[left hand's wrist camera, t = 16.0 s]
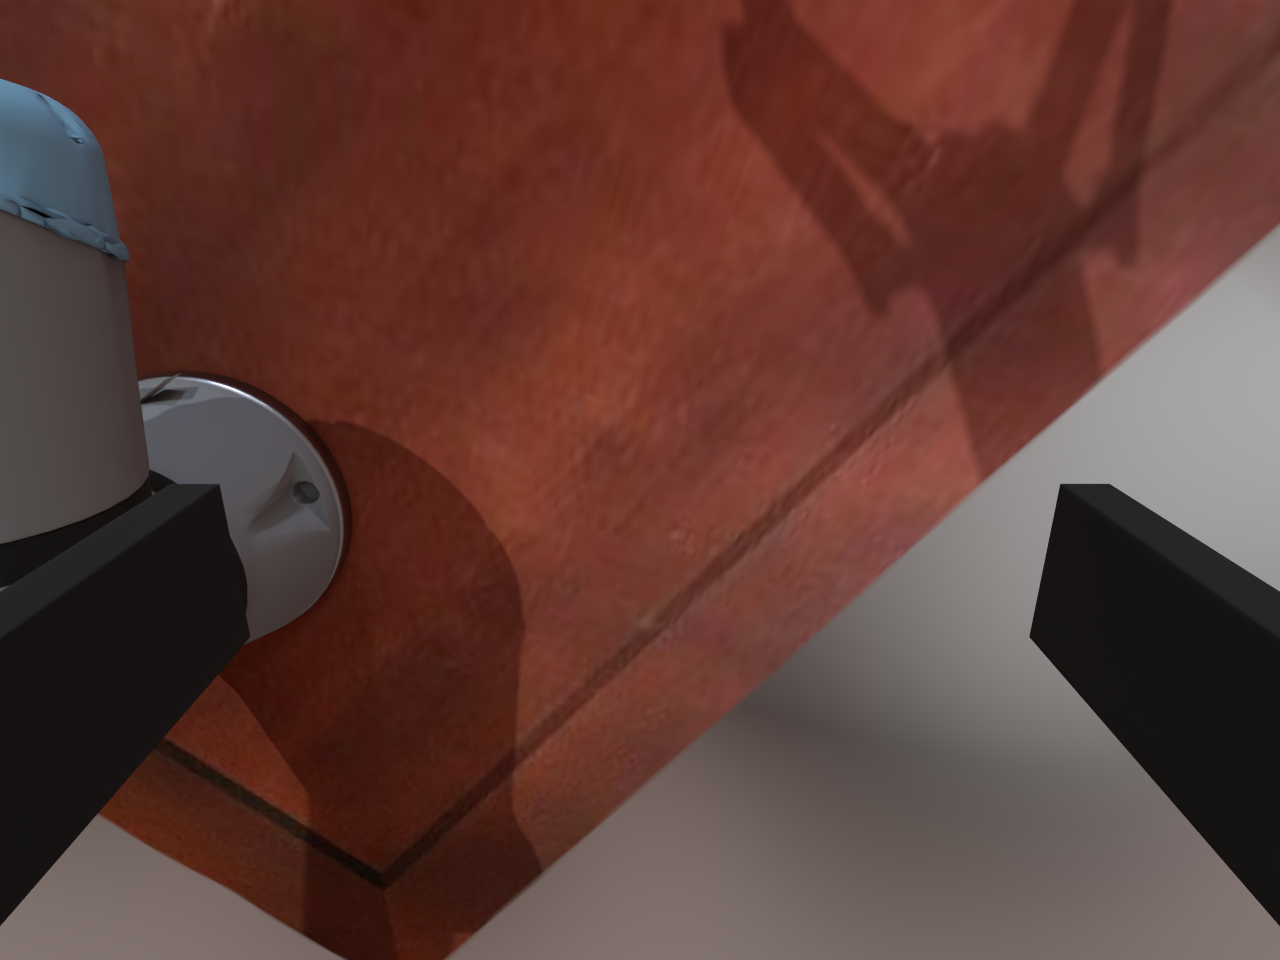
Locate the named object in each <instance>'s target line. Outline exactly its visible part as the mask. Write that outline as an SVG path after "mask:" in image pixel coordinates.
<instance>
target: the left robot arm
mask: <svg viewBox="0 0 1280 960" xmlns="http://www.w3.org/2000/svg"><path fill="white" fill-rule="evenodd" d="M128 261H129V252H128V249H127V247H126V246H125V245H124V244H123V243H122V242H121V241H120V236H119V231H118V226H117V222H116V217H115V212H114V207H113V203H112V197H111V191H110V186H109V180H108V174H107V169H106V163H105V159H104V156H103V152H102V150H101V148H100V145H99V143H98V141H97V140H96V138H95V137H94V135H93V133H92V132H91V131H90V129H89V128H88V127H87V126H86V125H85V124H84V122H83V121H82V120H81V119H80V118H79V117H78V116H76V115H75V114H74V113H73V112H72V111H71V110H69V109H68V108H66V107H65V106H63V105H62V104H60V103H59V102H57V101H55V100H53V99H52V98H50V97H48V96H46V95H44V94H41V93H39V92H37V91H34V90H31V89H29V88H26V87H24V86H21V85H18V84H15V83H11V82H8V81H5V80H2V79H0V926H1V924H2V923H3V922H4V921H5V920H6V919H7V918H8V916H9V915H10V914H11V913H12V912H13V911H14V910H15V908H16V907H17V906H18V905H19V904H20V903H21V901H22V900H23V899H24V898H25V897H26V896H27V895H28V893H29V892H30V891H31V890H32V889H33V888H34V886H35V885H36V884H37V883H38V882H39V881H40V879H41V878H42V877H43V876H44V875H45V874H46V873H47V871H48V870H49V869H50V868H51V867H52V866H53V864H54V863H55V862H56V861H57V860H58V859H59V858H60V856H61V855H62V854H63V853H64V852H65V851H66V849H67V848H68V847H69V846H70V845H71V844H72V843H73V841H74V840H75V839H76V838H77V837H78V836H79V834H80V833H81V832H82V831H83V830H84V829H85V827H86V826H87V825H88V824H89V823H90V822H91V821H92V819H93V818H94V817H95V816H96V815H97V814H98V813H99V811H100V810H101V809H102V808H103V807H104V806H105V804H106V803H107V802H108V801H109V800H110V799H111V797H112V796H113V795H114V794H115V793H116V792H117V791H118V789H119V788H120V787H121V786H122V785H123V784H124V782H125V781H126V780H127V779H128V778H129V777H130V776H131V774H132V773H133V772H134V771H135V770H136V769H137V767H138V766H139V765H140V764H141V763H142V762H143V761H144V759H145V758H146V757H147V756H148V755H149V754H150V752H151V751H152V750H153V749H154V748H155V747H156V746H157V744H158V743H159V742H160V741H161V740H162V739H163V737H164V736H165V735H166V734H167V733H168V732H169V730H170V729H171V728H172V727H173V726H174V725H175V724H176V722H177V721H178V720H179V719H180V718H181V717H182V715H183V714H184V713H185V712H186V711H187V710H188V709H189V707H190V706H191V705H192V704H193V703H194V702H195V700H196V699H197V698H198V697H199V696H200V695H201V694H202V692H203V691H204V690H205V689H206V688H207V687H208V685H209V684H210V683H211V682H212V681H213V680H214V679H215V677H216V676H217V675H218V674H219V673H220V672H221V670H222V669H223V668H224V667H225V666H226V665H227V664H228V662H229V661H230V660H231V659H232V658H233V657H234V655H235V654H236V653H237V652H238V651H239V650H240V648H241V647H242V646H243V645H245V644H247V643H249V642H251V641H254V640H256V639H258V638H260V637H262V636H264V635H266V634H268V633H271V632H273V631H275V630H277V629H279V628H281V627H283V626H285V625H287V624H288V623H290V622H291V621H293V620H294V619H296V618H297V617H299V616H300V615H302V614H303V613H304V612H305V611H306V610H308V609H309V608H310V607H311V606H312V605H313V604H314V603H315V602H316V601H317V600H318V599H319V597H320V596H321V595H322V594H323V592H324V591H325V590H326V588H327V587H328V586H329V585H330V583H331V582H332V580H333V579H334V578H335V576H336V575H337V573H338V571H339V569H340V568H341V565H342V563H343V561H344V558H345V556H346V552H347V549H348V545H349V540H350V533H351V510H350V503H349V497H348V493H347V490H346V486H345V483H344V480H343V478H342V475H341V472H340V470H339V468H338V466H337V464H336V462H335V460H334V458H333V457H332V455H331V453H330V452H329V450H328V448H327V447H326V446H325V444H324V443H323V442H322V440H321V439H320V437H319V436H318V435H317V434H316V433H315V432H314V431H313V429H312V428H311V427H310V426H309V425H308V424H307V423H306V422H305V421H304V420H303V419H302V418H301V417H300V416H299V415H297V414H296V413H295V412H294V411H292V410H291V409H290V408H289V407H288V406H286V405H285V404H283V403H282V402H280V401H279V400H277V399H276V398H274V397H273V396H271V395H269V394H267V393H266V392H264V391H262V390H260V389H258V388H256V387H253V386H251V385H249V384H247V383H244V382H241V381H238V380H236V379H232V378H229V377H225V376H221V375H216V374H211V373H204V372H192V371H184V372H169V373H161V374H157V375H152V376H148V377H145V378H142V379H140V380H138V377H137V369H136V360H135V351H134V342H133V334H132V325H131V316H130V307H129V298H128V289H127V280H126V272H125V263H124V262H128ZM1030 638H1031V639H1032V640H1033V642H1034V643H1035V644H1036V645H1037V646H1038V647H1039V648H1040V650H1041V651H1042V652H1043V653H1044V654H1045V655H1046V657H1047V658H1048V659H1049V660H1050V661H1051V662H1052V664H1053V665H1054V666H1055V667H1056V668H1057V669H1058V670H1059V672H1060V673H1061V674H1062V675H1063V676H1064V677H1065V679H1066V680H1067V681H1068V682H1069V683H1070V684H1071V685H1072V687H1073V688H1074V689H1075V690H1076V691H1077V692H1078V694H1079V695H1080V696H1081V697H1082V698H1083V699H1084V700H1085V702H1086V703H1087V704H1088V705H1089V706H1090V707H1091V709H1092V710H1093V711H1094V712H1095V713H1096V714H1097V715H1098V717H1099V718H1100V719H1101V720H1102V721H1103V722H1104V723H1105V725H1106V726H1107V727H1108V728H1109V729H1110V730H1111V732H1112V733H1113V734H1114V735H1115V736H1116V737H1117V739H1118V740H1119V741H1120V742H1121V743H1122V744H1123V745H1124V747H1125V748H1126V749H1127V750H1128V751H1129V752H1130V754H1131V755H1132V756H1133V757H1134V758H1135V759H1136V761H1137V762H1138V763H1139V764H1140V765H1141V766H1142V767H1143V769H1144V770H1145V771H1146V772H1147V773H1148V774H1149V775H1150V777H1151V778H1152V779H1153V780H1154V781H1155V782H1156V784H1157V785H1158V786H1159V787H1160V788H1161V789H1162V791H1163V792H1164V793H1165V794H1166V795H1167V796H1168V797H1169V799H1170V800H1171V801H1172V802H1173V803H1174V804H1175V805H1176V807H1177V808H1178V809H1179V810H1180V811H1181V813H1182V814H1183V815H1184V816H1185V817H1186V818H1187V819H1188V820H1189V822H1190V823H1191V824H1192V825H1193V826H1194V828H1195V829H1196V830H1197V831H1198V832H1199V833H1200V834H1201V836H1202V837H1203V838H1204V839H1205V840H1206V841H1207V843H1208V844H1209V845H1210V846H1211V847H1212V848H1213V849H1214V851H1215V852H1216V853H1217V854H1218V855H1219V856H1220V858H1221V859H1222V860H1223V861H1224V862H1225V863H1226V864H1227V866H1228V867H1229V868H1230V869H1231V870H1232V871H1233V873H1234V874H1235V875H1236V876H1237V877H1238V878H1239V879H1240V881H1241V882H1242V883H1243V884H1244V885H1245V886H1246V888H1247V889H1248V890H1249V891H1250V892H1251V893H1252V895H1253V896H1254V897H1255V898H1256V899H1257V900H1258V901H1259V903H1260V904H1261V905H1262V906H1263V907H1264V908H1265V910H1266V911H1267V912H1268V913H1269V914H1270V915H1271V916H1272V918H1273V919H1274V920H1275V921H1276V922H1277V923H1278V925H1279V926H1280V592H1279V591H1278V590H1276V589H1275V588H1273V587H1272V586H1270V585H1268V584H1267V583H1265V582H1264V581H1262V580H1260V579H1259V578H1257V577H1256V576H1254V575H1253V574H1251V573H1249V572H1248V571H1246V570H1245V569H1243V568H1241V567H1240V566H1238V565H1237V564H1235V563H1234V562H1232V561H1230V560H1229V559H1227V558H1226V557H1224V556H1223V555H1221V554H1219V553H1218V552H1216V551H1215V550H1213V549H1211V548H1210V547H1208V546H1207V545H1205V544H1204V543H1202V542H1200V541H1199V540H1197V539H1196V538H1194V537H1192V536H1191V535H1189V534H1188V533H1186V532H1185V531H1183V530H1181V529H1180V528H1178V527H1177V526H1175V525H1173V524H1172V523H1170V522H1169V521H1167V520H1166V519H1164V518H1162V517H1161V516H1159V515H1158V514H1156V513H1155V512H1153V511H1151V510H1150V509H1148V508H1147V507H1145V506H1143V505H1142V504H1140V503H1139V502H1137V501H1136V500H1134V499H1132V498H1131V497H1129V496H1128V495H1126V494H1124V493H1123V492H1121V491H1120V490H1118V489H1117V488H1115V487H1113V486H1112V485H1110V484H1060V489H1059V494H1058V498H1057V503H1056V508H1055V513H1054V518H1053V523H1052V528H1051V533H1050V538H1049V543H1048V548H1047V553H1046V558H1045V563H1044V568H1043V573H1042V577H1041V582H1040V588H1039V592H1038V597H1037V602H1036V607H1035V612H1034V617H1033V622H1032V627H1031V632H1030Z"/></svg>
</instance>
